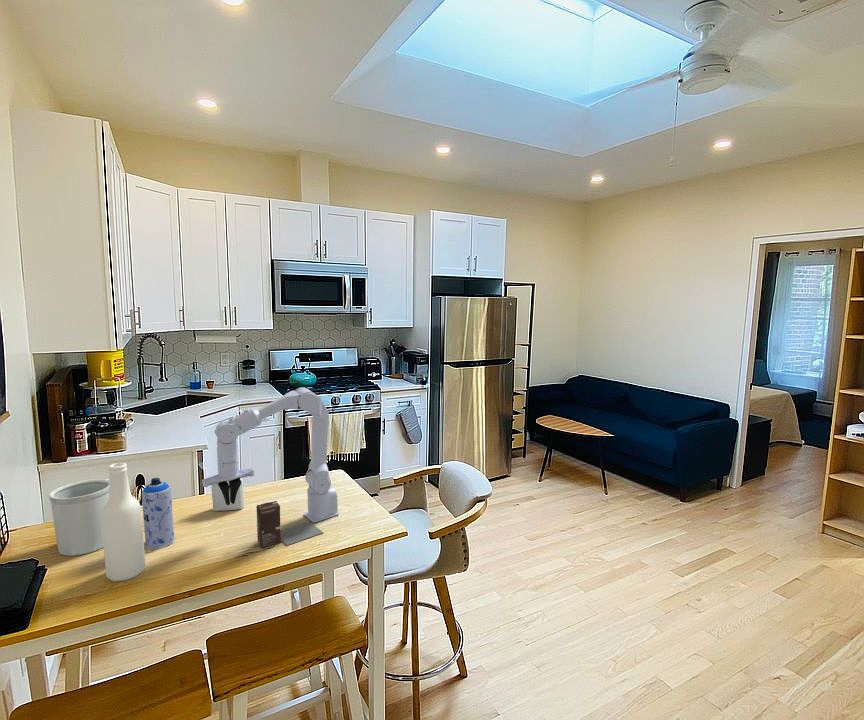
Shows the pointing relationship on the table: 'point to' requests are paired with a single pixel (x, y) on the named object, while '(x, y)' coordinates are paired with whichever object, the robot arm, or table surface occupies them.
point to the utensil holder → (79, 516)
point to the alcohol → (122, 528)
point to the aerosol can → (157, 515)
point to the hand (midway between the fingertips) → (230, 503)
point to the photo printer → (220, 501)
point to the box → (268, 524)
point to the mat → (299, 533)
